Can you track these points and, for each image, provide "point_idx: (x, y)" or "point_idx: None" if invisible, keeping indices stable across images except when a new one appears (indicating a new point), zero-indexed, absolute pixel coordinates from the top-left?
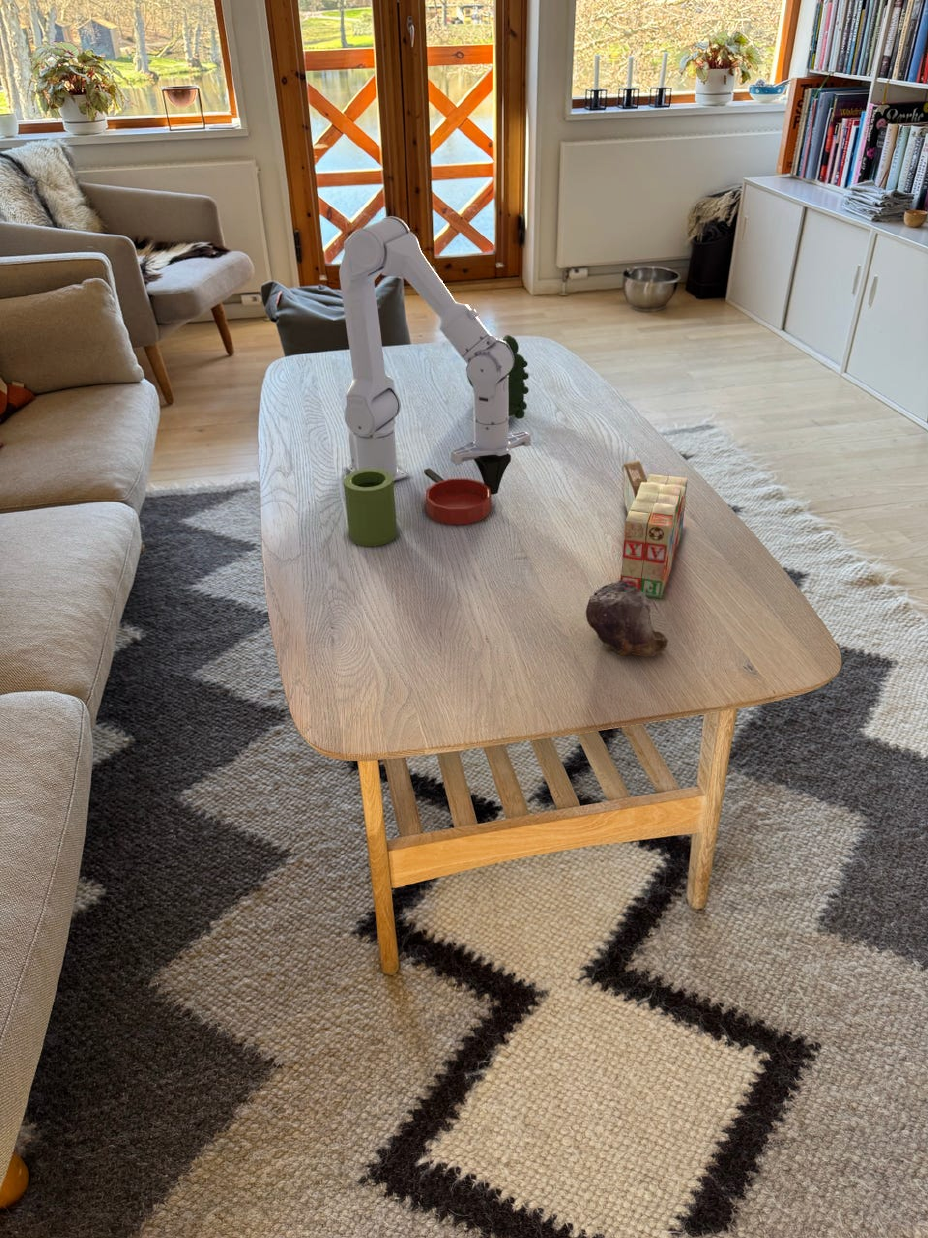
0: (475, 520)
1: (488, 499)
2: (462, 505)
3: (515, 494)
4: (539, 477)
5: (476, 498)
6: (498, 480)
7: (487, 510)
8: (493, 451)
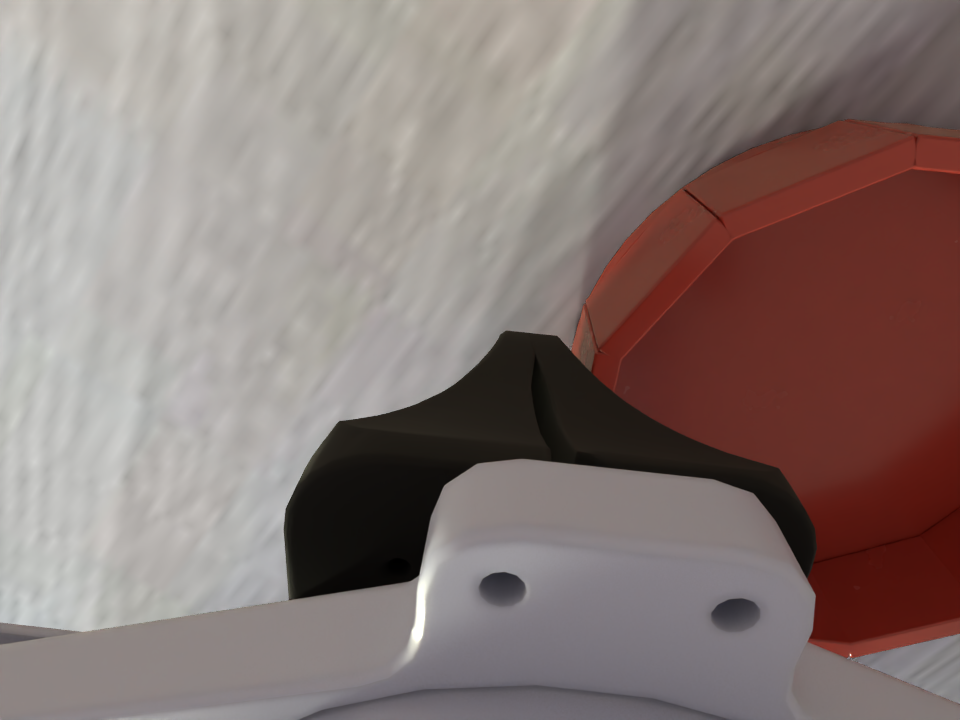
0: (910, 124)
1: (772, 191)
2: (797, 377)
3: (334, 299)
4: (57, 387)
5: (640, 395)
6: (509, 368)
7: (757, 160)
8: (796, 697)
